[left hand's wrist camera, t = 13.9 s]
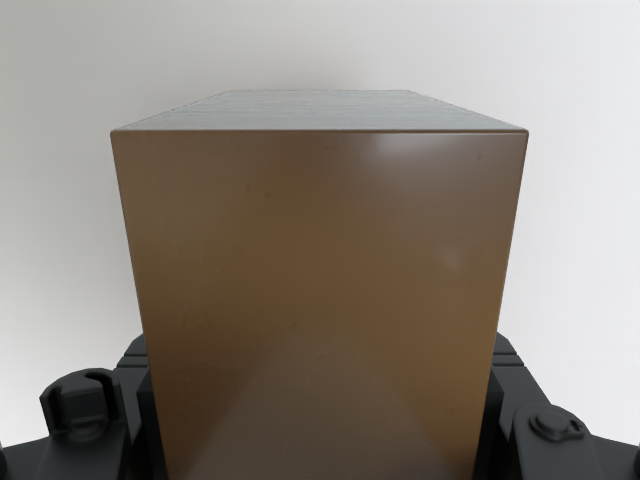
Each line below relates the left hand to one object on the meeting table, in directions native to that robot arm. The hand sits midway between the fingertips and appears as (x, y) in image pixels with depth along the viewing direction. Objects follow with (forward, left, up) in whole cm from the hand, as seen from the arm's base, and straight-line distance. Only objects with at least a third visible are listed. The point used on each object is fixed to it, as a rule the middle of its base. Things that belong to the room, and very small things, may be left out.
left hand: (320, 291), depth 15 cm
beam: (+7, -20, -1) cm, 21 cm away
